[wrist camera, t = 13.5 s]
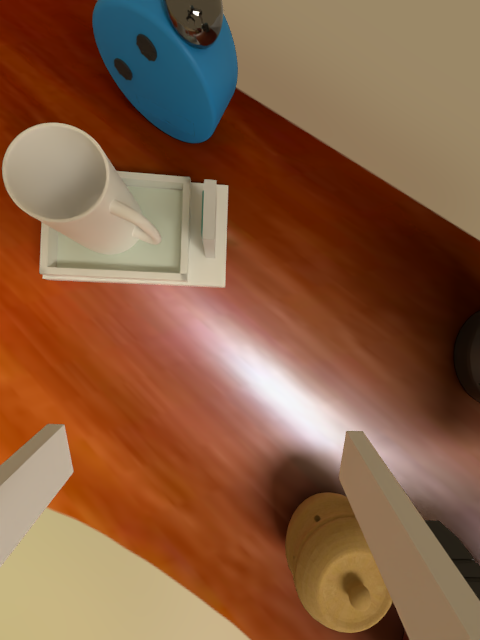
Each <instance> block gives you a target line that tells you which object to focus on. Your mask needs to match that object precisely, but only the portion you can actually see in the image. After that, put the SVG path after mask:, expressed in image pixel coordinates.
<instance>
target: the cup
mask: <svg viewBox="0 0 480 640" xmlns="http://www.w3.org/2000/svg"><path fill="white" fill-rule="evenodd" d="M2 175H3V181H4V184H5V187H6V189H7V192H8V194H9V195H10V197H11V198H12V200H13V201H14V202H15V204H16V205H17V206H18V207H19V208H20V209H22V210H23V211H24V212H26V213H27V214H29V215H30V216H32V217H34V218H36V219H37V220H39V221H41V222H43V223H44V224H46V225H48V226H49V227H51V228H53V229H55V230H56V231H58V232H60V233H62V234H63V235H65V236H67V237H69V238H70V239H72V240H74V241H75V242H77V243H79V244H81V245H82V246H84V247H86V248H88V249H90V250H92V251H94V252H97V253H100V254H106V255H114V254H119V253H122V252H125V251H127V250H128V249H130V248H131V247H133V246H134V245H135V244H136V242H137V241H138V240H139V239H140V240H142V241H144V242H147V243H150V244H154V245H157V244H159V243H160V242H161V240H162V238H161V235H160V233H159V232H158V230H157V229H156V228H155V226H154V225H153V224H152V223H151V222H150V221H149V220H148V219H146V218H145V217H144V216H143V215H142V212H141V209H140V207H139V205H138V203H137V201H136V200H135V198H134V197H133V195H132V194H131V192H130V191H129V189H128V188H127V186H126V185H125V183H124V182H123V180H122V179H121V177H120V175H119V174H118V172H117V171H116V169H115V168H114V166H113V165H112V163H111V162H110V160H109V159H108V157H107V156H106V154H105V153H104V151H103V150H102V148H101V147H100V145H99V144H98V143H97V142H96V141H95V140H94V139H93V138H92V137H91V136H90V135H88V134H87V133H86V132H84V131H82V130H81V129H78V128H76V127H74V126H71V125H67V124H63V123H43V124H39V125H35V126H33V127H30V128H28V129H26V130H25V131H23V132H22V133H20V134H19V135H18V136H17V137H16V138H15V139H14V140H13V141H12V142H11V144H10V145H9V147H8V149H7V151H6V153H5V156H4V159H3V165H2Z"/></svg>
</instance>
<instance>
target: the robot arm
mask: <svg viewBox="0 0 480 640" xmlns="http://www.w3.org/2000/svg"><path fill="white" fill-rule="evenodd" d="M454 363H455V369H456V373H457V376H458V378H459V381H460V383H461V384H462V386H463V387H464V389H465V390H466V391H467V393H468V394H469V395H470V396H471V397H473V398H474V399H475V400H477V401H478V402H480V311H478V312H476V313H475V314H474V315H472V316H471V317H470V318H469V319H468V320H467V321H466V323H465V324H464V325H463V327H462V328H461V330H460V332H459V334H458V337H457V340H456V344H455V350H454ZM72 473H73V467H72V462H71V456H70V451H69V446H68V441H67V436H66V431H65V426H64V424H47V425H46V426H45V427H44V428H43V429H42V430H40V431H39V432H38V433H37V434H36V435H35V436H34V437H32V438H31V439H30V440H29V441H28V442H27V443H26V444H25V445H23V446H22V447H21V448H20V449H19V450H18V451H17V452H15V453H14V454H13V455H12V456H11V457H10V458H9V459H7V460H6V461H5V462H4V463H3V464H2V465H1V466H0V567H1V566H2V564H3V563H4V562H5V560H6V559H7V558H8V556H9V555H10V554H11V553H12V551H13V550H14V549H15V547H16V546H17V545H18V543H19V542H20V541H21V540H22V538H23V537H24V536H25V534H26V533H27V532H28V531H29V529H30V528H31V527H32V525H33V524H34V523H35V521H36V520H37V519H38V517H39V516H40V515H41V513H42V512H43V511H44V510H45V508H46V507H47V506H48V505H49V503H50V502H51V501H52V499H53V498H54V497H55V495H56V494H57V493H58V491H59V490H60V489H61V488H62V486H63V485H64V484H65V482H66V481H67V480H68V478H69V477H70V476H71V475H72ZM339 480H340V482H341V485H342V487H343V489H344V491H345V494H346V496H347V498H348V501H349V503H350V505H351V507H352V510H353V512H354V514H355V517H356V519H357V521H358V523H359V526H360V528H361V530H362V532H363V535H364V537H365V539H366V542H367V544H368V546H369V548H370V551H371V553H372V555H373V558H374V560H375V562H376V564H377V567H378V569H379V571H380V574H381V576H382V578H383V580H384V583H385V585H386V587H387V590H388V592H389V594H390V596H391V599H392V601H393V603H394V606H395V608H396V610H397V612H398V615H399V617H400V619H401V622H402V624H403V626H404V628H405V631H406V633H407V635H408V638H409V640H480V566H479V565H478V563H475V561H474V558H473V557H472V556H471V554H470V553H469V552H468V550H467V549H466V548H465V547H464V545H463V544H462V543H461V541H460V540H459V539H458V538H457V537H456V536H455V535H454V534H453V533H452V532H451V531H450V530H448V529H447V528H446V527H445V526H444V525H443V524H442V523H441V522H440V521H425V520H424V519H423V518H422V517H421V515H420V514H419V512H418V511H417V509H416V508H415V506H414V505H413V503H412V502H411V501H410V499H409V498H408V496H407V495H406V493H405V492H404V490H403V489H402V488H401V486H400V485H399V483H398V482H397V480H396V479H395V477H394V476H393V474H392V473H391V472H390V470H389V469H388V467H387V466H386V464H385V463H384V461H383V460H382V459H381V457H380V456H379V454H378V453H377V451H376V450H375V448H374V447H373V445H372V444H371V443H370V441H369V440H368V438H367V437H366V435H365V434H364V432H363V431H346V437H345V443H344V449H343V455H342V461H341V467H340V473H339Z"/></svg>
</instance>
